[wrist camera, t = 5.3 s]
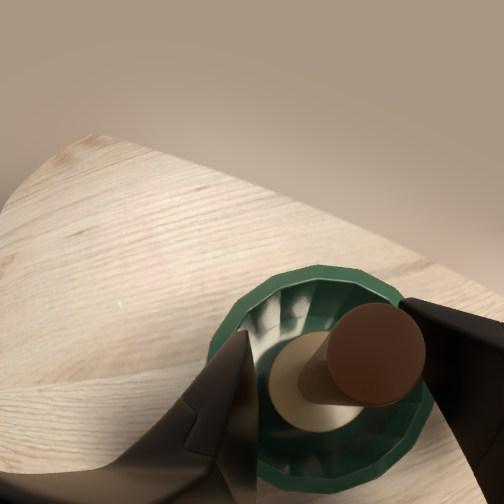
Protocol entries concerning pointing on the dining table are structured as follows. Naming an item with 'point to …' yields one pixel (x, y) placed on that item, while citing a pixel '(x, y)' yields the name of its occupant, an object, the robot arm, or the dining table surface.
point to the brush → (347, 368)
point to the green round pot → (343, 439)
